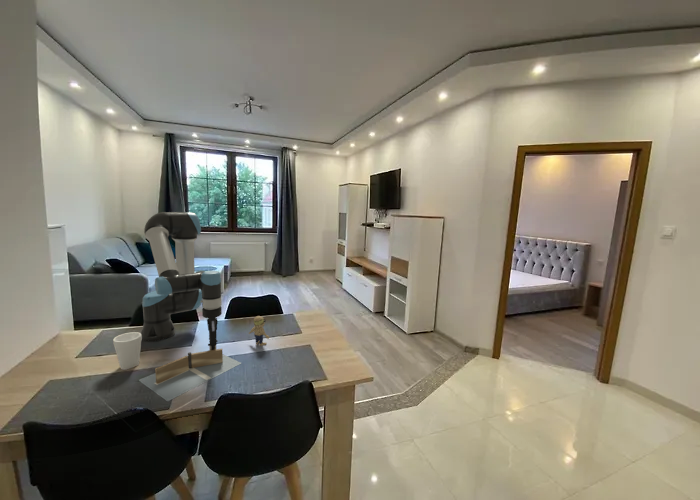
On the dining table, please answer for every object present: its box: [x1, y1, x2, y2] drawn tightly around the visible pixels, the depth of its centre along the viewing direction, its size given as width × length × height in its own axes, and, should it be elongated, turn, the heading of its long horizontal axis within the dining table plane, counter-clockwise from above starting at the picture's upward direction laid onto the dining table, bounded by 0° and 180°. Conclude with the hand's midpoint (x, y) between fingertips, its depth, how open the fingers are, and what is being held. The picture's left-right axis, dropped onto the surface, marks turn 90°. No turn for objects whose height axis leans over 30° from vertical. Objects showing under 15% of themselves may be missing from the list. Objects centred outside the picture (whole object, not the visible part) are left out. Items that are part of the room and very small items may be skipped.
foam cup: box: [112, 331, 143, 371], centre depth 122 cm, size 10×9×13 cm
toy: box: [248, 315, 270, 346], centre depth 145 cm, size 13×6×15 cm, turn 65°
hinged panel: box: [187, 348, 223, 368], centre depth 124 cm, size 1×13×7 cm, turn 116°
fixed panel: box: [154, 355, 189, 384], centre depth 116 cm, size 1×12×6 cm, turn 148°
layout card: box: [138, 349, 242, 402], centre depth 120 cm, size 22×31×1 cm
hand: (213, 357), depth 129 cm, fingers closed
